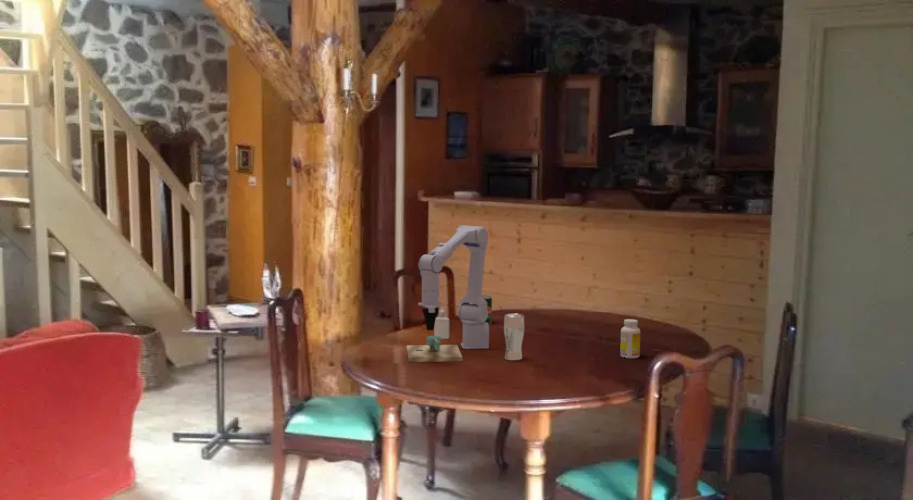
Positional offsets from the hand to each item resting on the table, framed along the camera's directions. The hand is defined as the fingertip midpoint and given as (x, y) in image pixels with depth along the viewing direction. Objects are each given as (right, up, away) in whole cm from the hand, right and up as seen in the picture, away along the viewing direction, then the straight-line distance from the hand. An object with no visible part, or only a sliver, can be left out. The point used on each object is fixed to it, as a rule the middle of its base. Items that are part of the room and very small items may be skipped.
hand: (430, 329), depth 295 cm
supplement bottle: (+69, -10, +9) cm, 71 cm away
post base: (+1, -10, +8) cm, 13 cm away
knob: (+2, -6, +5) cm, 8 cm away
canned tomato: (+19, -3, +64) cm, 67 cm away
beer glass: (+28, -10, +5) cm, 31 cm away
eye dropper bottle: (+3, -7, +34) cm, 35 cm away
